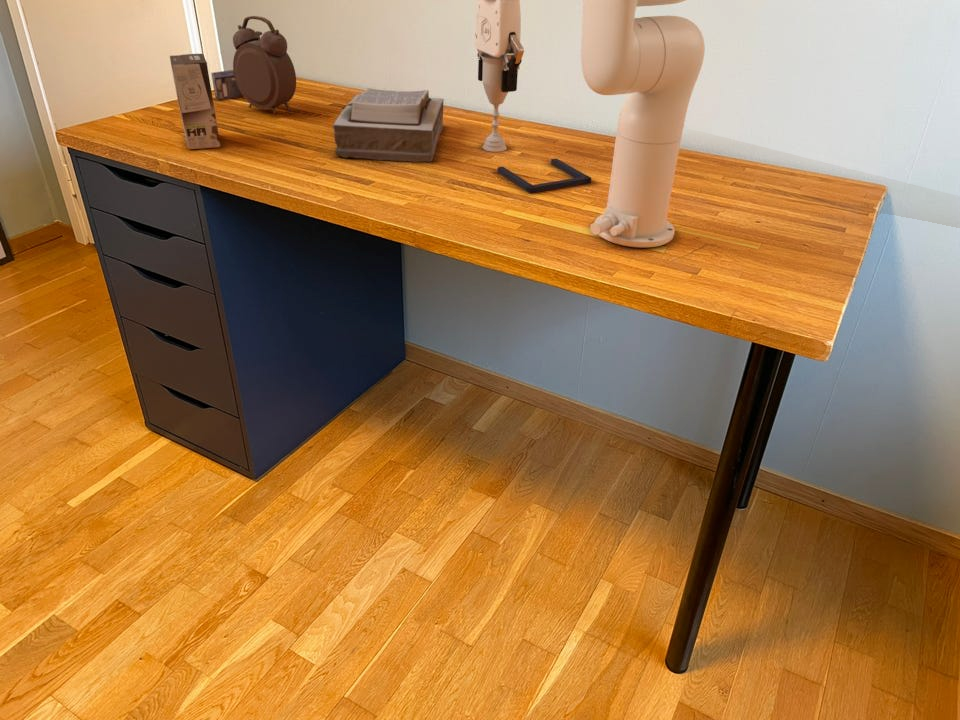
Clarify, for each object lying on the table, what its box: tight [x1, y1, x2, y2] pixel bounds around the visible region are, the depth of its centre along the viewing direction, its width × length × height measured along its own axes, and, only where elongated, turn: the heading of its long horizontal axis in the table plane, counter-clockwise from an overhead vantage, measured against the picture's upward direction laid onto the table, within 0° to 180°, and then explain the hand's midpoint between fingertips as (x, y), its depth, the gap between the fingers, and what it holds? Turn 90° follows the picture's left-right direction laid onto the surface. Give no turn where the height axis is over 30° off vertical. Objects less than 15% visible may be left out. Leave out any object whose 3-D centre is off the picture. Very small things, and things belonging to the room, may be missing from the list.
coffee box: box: [169, 53, 221, 150], centre depth 145 cm, size 9×6×16 cm
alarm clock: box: [232, 15, 297, 115], centre depth 164 cm, size 14×7×20 cm, turn 58°
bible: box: [332, 87, 445, 163], centre depth 150 cm, size 23×27×10 cm
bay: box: [497, 158, 592, 194], centre depth 137 cm, size 12×13×1 cm
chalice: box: [481, 53, 511, 153], centre depth 146 cm, size 7×7×18 cm
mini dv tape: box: [211, 69, 244, 101], centre depth 177 cm, size 8×2×6 cm, turn 130°
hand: (496, 85), depth 144 cm, fingers open, 9 cm apart
